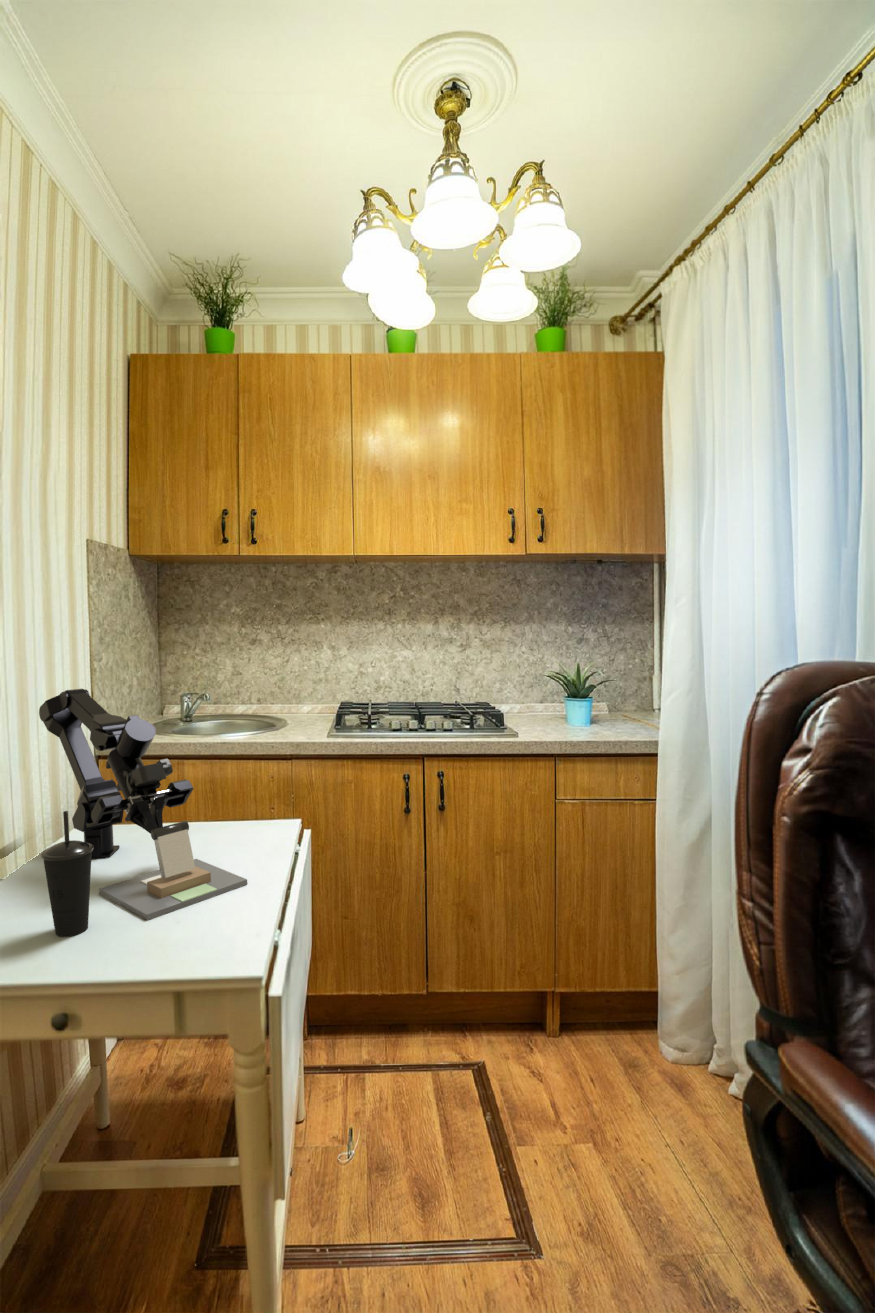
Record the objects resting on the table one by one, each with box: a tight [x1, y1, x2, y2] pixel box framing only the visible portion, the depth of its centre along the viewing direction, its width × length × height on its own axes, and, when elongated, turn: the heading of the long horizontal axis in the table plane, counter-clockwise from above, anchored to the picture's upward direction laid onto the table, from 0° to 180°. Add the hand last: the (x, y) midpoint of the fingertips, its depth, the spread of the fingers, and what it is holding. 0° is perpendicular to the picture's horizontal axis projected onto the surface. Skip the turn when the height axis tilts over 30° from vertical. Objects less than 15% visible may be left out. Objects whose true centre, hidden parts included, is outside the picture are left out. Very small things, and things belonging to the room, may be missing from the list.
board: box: [98, 858, 248, 921], centre depth 135 cm, size 18×20×3 cm
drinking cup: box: [40, 810, 93, 938], centre depth 117 cm, size 8×8×20 cm
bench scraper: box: [150, 820, 195, 878], centre depth 134 cm, size 2×7×9 cm, turn 139°
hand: (160, 837), depth 137 cm, fingers closed
